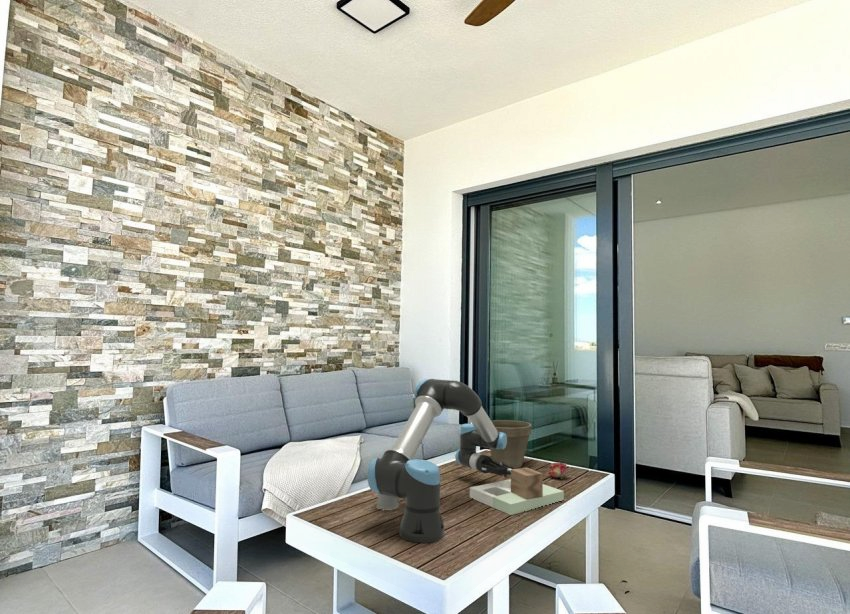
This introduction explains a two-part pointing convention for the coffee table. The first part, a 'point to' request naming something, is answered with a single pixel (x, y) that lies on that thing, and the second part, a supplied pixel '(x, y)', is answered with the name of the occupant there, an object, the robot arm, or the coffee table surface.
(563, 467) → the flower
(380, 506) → the glass holder
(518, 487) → the walnut block
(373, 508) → the coffee table surface
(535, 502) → the box
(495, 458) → the plant pot
